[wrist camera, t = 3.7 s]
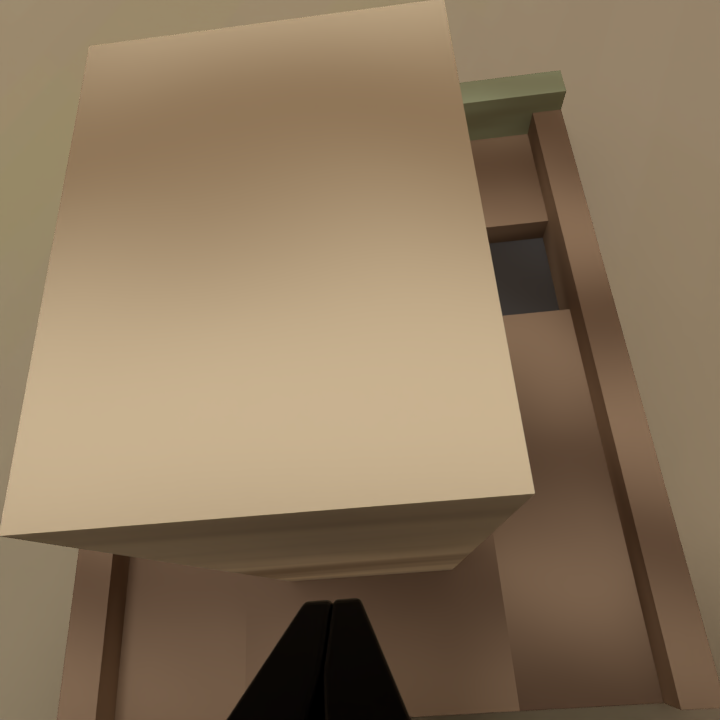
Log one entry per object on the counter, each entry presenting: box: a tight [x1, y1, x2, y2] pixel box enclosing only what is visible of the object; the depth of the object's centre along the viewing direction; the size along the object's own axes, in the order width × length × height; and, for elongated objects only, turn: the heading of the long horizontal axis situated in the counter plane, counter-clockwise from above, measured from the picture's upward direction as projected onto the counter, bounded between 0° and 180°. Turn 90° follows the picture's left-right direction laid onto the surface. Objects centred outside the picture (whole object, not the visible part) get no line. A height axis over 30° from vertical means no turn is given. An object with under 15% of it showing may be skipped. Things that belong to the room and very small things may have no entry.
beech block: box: [0, 0, 535, 581], centre depth 11 cm, size 6×4×12 cm
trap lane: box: [57, 70, 720, 720], centre depth 18 cm, size 20×16×3 cm
